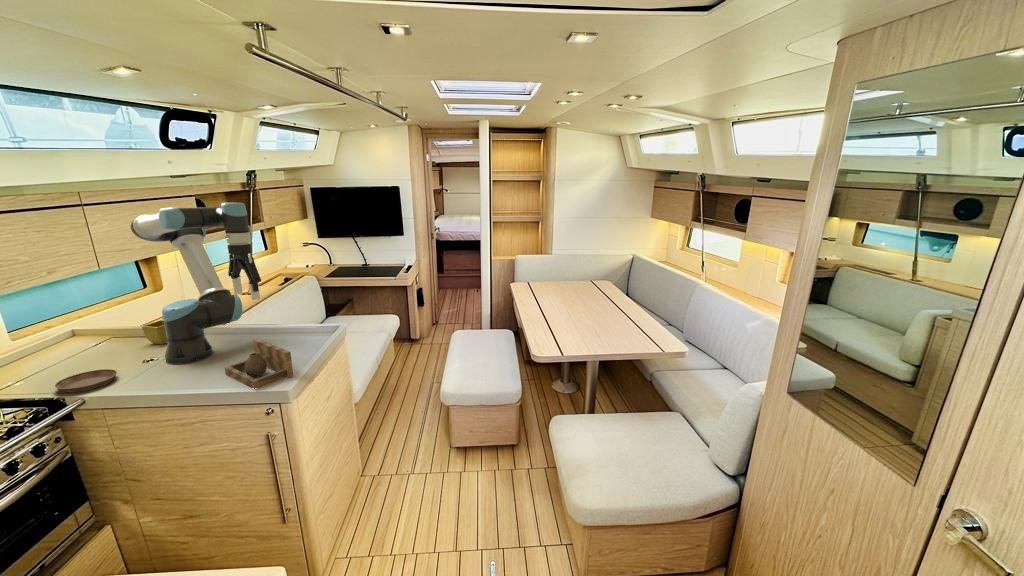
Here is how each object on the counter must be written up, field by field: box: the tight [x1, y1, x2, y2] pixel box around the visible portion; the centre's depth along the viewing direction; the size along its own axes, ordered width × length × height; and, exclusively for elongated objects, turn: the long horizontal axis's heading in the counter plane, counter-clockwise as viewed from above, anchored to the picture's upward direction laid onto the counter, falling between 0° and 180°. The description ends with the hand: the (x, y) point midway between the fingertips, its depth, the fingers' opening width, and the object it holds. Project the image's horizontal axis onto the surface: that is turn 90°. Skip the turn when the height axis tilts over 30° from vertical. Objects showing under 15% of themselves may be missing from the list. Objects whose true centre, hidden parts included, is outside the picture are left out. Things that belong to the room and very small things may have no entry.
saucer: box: [54, 368, 118, 393], centre depth 134 cm, size 15×15×3 cm
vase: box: [244, 352, 268, 379], centre depth 142 cm, size 7×7×9 cm
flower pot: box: [140, 319, 168, 345], centre depth 171 cm, size 9×9×9 cm
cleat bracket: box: [224, 338, 294, 390], centre depth 143 cm, size 24×13×10 cm, turn 59°
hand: (247, 296), depth 151 cm, fingers open, 13 cm apart
